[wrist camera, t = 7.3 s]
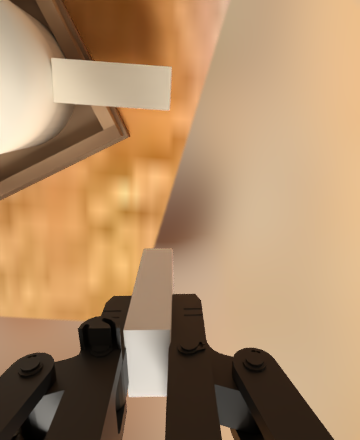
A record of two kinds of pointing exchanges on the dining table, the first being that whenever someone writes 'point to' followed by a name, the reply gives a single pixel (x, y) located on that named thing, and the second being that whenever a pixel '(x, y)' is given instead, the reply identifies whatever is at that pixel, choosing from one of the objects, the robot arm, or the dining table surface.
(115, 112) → the brown flat rectangular tray
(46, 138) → the white pot with handle
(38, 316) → the dining table surface
